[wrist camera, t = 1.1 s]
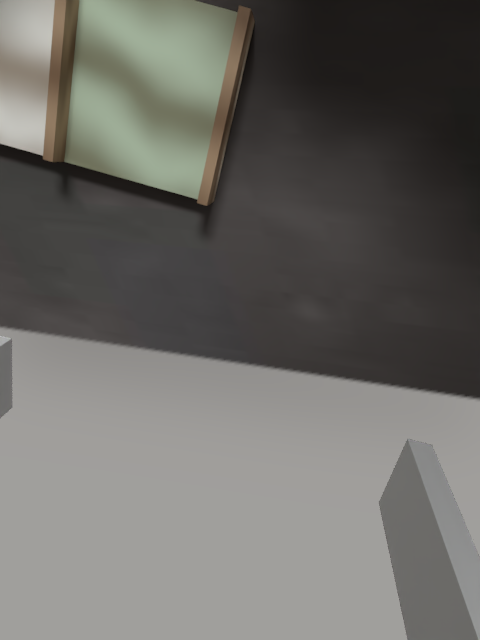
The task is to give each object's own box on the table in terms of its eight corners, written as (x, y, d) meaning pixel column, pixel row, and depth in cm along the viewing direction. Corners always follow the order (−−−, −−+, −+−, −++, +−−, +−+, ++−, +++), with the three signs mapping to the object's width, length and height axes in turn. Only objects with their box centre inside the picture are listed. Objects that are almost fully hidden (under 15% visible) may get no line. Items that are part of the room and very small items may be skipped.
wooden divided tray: (-84, -72, 32) (-120, -93, 29) (255, 21, 31) (250, 8, 28) (-79, 119, 37) (-110, 116, 34) (213, 201, 36) (206, 205, 33)
